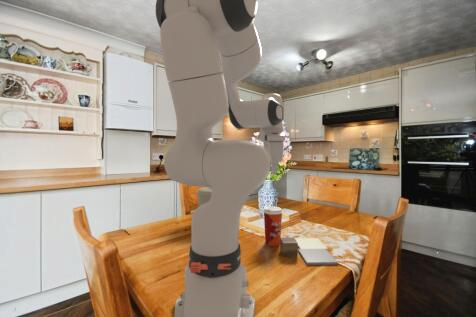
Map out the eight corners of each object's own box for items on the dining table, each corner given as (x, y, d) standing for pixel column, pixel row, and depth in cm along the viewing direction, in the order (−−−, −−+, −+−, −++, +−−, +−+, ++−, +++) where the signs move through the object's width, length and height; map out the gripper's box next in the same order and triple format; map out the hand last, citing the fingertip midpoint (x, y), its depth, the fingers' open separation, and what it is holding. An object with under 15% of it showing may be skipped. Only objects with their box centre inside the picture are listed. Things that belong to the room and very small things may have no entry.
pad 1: (327, 250, 83) (327, 248, 83) (300, 251, 82) (300, 248, 82) (317, 239, 93) (317, 238, 93) (293, 240, 92) (293, 238, 92)
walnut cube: (297, 257, 78) (297, 242, 78) (283, 257, 78) (283, 243, 78) (293, 250, 83) (293, 237, 83) (280, 251, 83) (280, 237, 82)
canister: (189, 223, 114) (189, 181, 113) (217, 216, 126) (217, 178, 125) (210, 232, 101) (209, 185, 100) (239, 223, 113) (239, 182, 112)
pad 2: (338, 264, 73) (338, 262, 73) (307, 264, 72) (307, 262, 72) (325, 250, 83) (325, 248, 83) (298, 251, 82) (298, 248, 82)
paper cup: (275, 249, 84) (275, 212, 83) (259, 243, 89) (259, 208, 88) (286, 243, 89) (286, 208, 89) (270, 238, 95) (270, 204, 94)
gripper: (259, 138, 98) (259, 170, 99) (268, 136, 77) (268, 176, 78) (274, 138, 98) (274, 169, 99) (286, 135, 78) (286, 175, 78)
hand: (271, 172), depth 88 cm, fingers open, 8 cm apart
